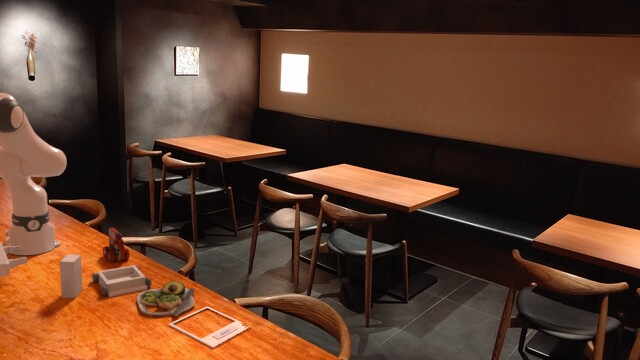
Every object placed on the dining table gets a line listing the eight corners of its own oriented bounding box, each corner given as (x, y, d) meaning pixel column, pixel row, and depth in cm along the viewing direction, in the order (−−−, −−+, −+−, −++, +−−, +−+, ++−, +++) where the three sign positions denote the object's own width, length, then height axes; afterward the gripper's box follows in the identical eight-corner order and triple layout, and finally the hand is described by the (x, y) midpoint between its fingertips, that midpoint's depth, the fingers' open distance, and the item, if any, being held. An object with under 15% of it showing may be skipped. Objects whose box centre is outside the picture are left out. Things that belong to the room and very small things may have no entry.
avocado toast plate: (203, 317, 151) (204, 303, 150) (140, 325, 143) (140, 310, 142) (192, 289, 168) (192, 276, 167) (135, 295, 161) (135, 282, 160)
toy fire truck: (112, 265, 181) (111, 238, 178) (101, 254, 190) (100, 227, 187) (131, 262, 185) (131, 235, 183) (120, 251, 194) (119, 225, 192)
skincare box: (68, 289, 160) (67, 253, 158) (82, 289, 161) (81, 254, 158) (60, 298, 154) (59, 261, 152) (75, 298, 155) (74, 262, 152)
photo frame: (213, 346, 134) (168, 323, 144) (213, 350, 134) (168, 326, 144) (250, 325, 146) (207, 305, 156) (250, 329, 146) (207, 309, 156)
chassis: (91, 280, 168) (91, 270, 167) (136, 271, 177) (136, 262, 176) (104, 298, 157) (104, 287, 156) (151, 288, 165) (151, 278, 165)
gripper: (-32, 264, 130) (29, 255, 138) (-37, 240, 145) (18, 234, 154) (-31, 287, 131) (30, 277, 139) (-36, 261, 147) (19, 253, 155)
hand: (24, 254), depth 147 cm, fingers open, 8 cm apart
